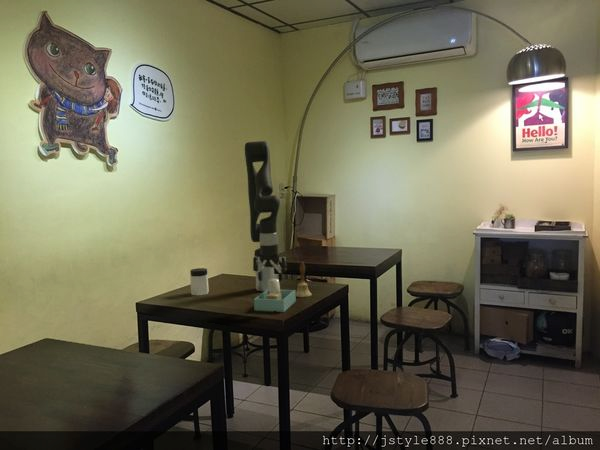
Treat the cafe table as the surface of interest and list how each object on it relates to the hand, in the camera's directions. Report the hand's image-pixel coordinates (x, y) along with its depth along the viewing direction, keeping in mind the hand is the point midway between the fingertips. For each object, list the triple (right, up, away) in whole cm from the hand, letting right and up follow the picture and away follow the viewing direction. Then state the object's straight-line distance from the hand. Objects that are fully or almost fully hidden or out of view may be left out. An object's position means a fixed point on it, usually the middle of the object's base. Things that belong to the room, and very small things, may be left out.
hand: (270, 281), depth 200 cm
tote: (+2, -12, +6) cm, 13 cm away
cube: (0, -9, +1) cm, 9 cm away
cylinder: (+2, -10, +10) cm, 14 cm away
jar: (-37, -10, +34) cm, 52 cm away
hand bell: (+14, -10, +23) cm, 29 cm away
